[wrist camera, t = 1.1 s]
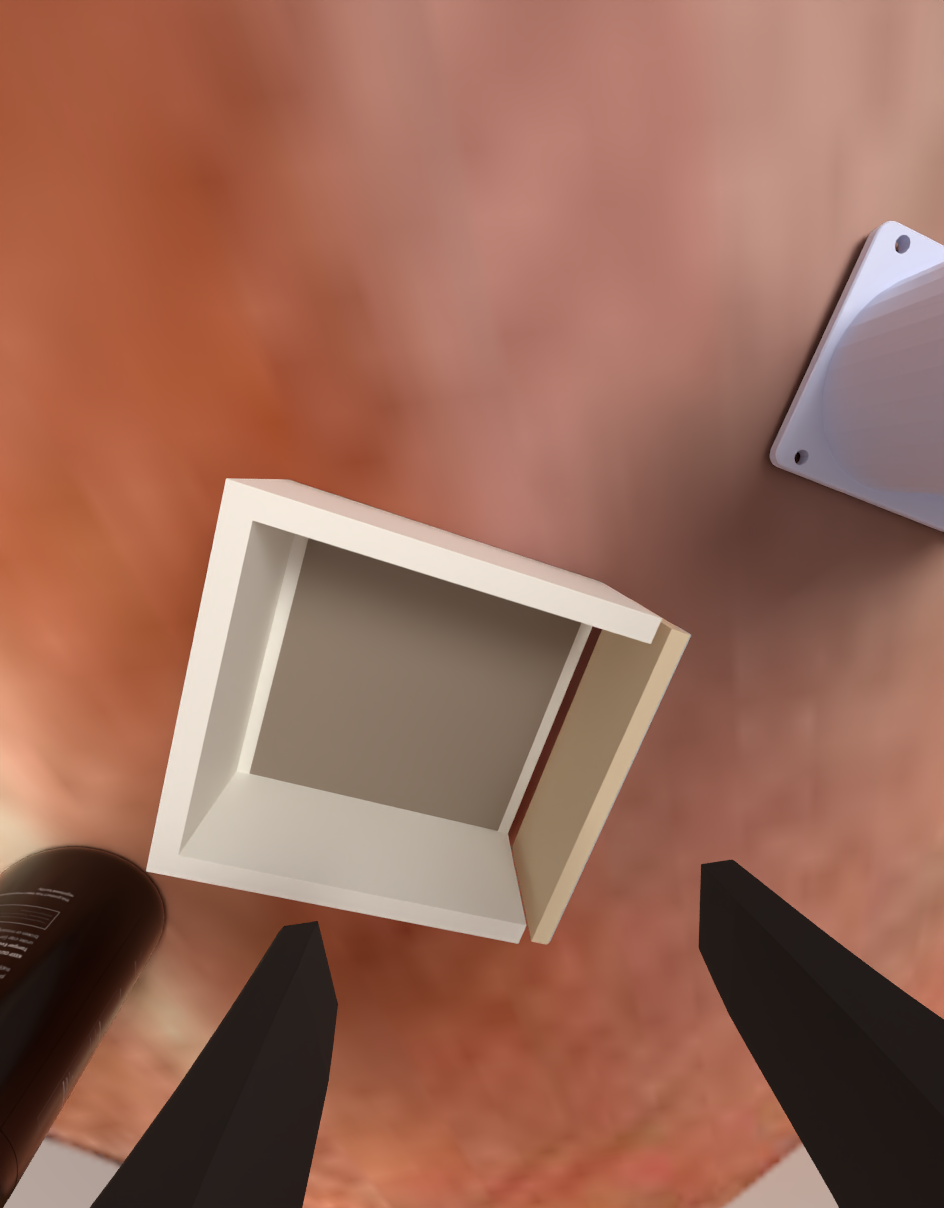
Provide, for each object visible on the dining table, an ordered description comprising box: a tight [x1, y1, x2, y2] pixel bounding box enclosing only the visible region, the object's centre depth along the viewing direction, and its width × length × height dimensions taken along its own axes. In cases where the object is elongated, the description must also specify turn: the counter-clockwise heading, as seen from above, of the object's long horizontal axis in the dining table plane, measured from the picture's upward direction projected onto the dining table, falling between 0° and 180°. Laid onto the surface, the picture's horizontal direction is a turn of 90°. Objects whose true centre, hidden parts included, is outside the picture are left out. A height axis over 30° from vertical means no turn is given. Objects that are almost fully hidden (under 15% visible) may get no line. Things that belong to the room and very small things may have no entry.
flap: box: [512, 599, 691, 945], centre depth 17 cm, size 1×12×4 cm, turn 161°
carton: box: [146, 478, 662, 944], centre depth 16 cm, size 12×12×5 cm
